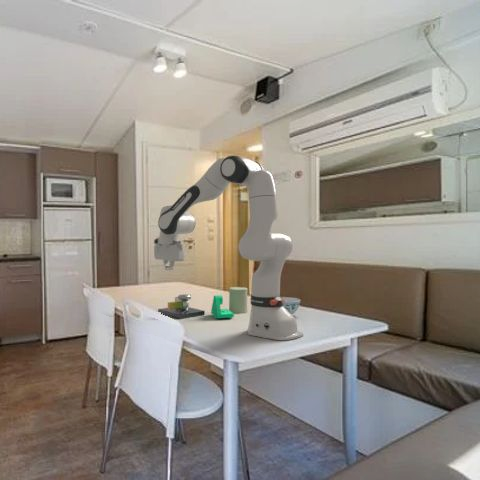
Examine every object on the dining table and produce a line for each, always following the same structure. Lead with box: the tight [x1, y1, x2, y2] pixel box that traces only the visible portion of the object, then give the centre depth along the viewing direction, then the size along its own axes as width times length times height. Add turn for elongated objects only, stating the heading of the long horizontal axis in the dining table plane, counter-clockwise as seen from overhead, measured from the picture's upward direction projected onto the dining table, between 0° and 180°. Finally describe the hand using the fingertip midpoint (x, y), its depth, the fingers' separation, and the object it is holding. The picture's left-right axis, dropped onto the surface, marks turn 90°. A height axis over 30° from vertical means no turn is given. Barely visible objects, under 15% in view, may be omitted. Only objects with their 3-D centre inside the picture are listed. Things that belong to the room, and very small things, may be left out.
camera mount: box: [210, 294, 235, 319], centre depth 190 cm, size 12×8×10 cm, turn 18°
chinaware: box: [281, 296, 301, 315], centre depth 194 cm, size 15×15×8 cm
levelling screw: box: [167, 293, 192, 311], centre depth 192 cm, size 12×6×7 cm, turn 134°
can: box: [228, 286, 248, 314], centre depth 204 cm, size 9×9×12 cm
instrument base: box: [157, 295, 206, 320], centre depth 196 cm, size 18×14×8 cm
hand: (168, 269), depth 194 cm, fingers closed
